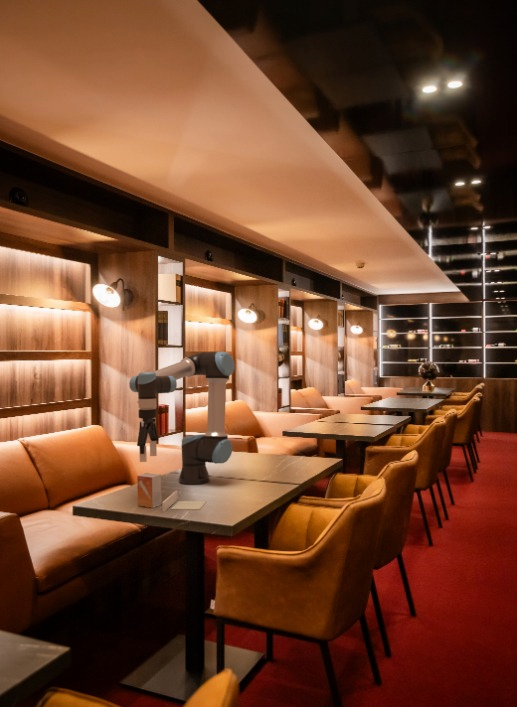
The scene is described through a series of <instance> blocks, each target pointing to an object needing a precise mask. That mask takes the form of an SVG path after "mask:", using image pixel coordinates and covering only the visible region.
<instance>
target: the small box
mask: <svg viewBox="0 0 517 707" xmlns="http://www.w3.org/2000/svg"><path fill="white" fill-rule="evenodd" d="M162 498H163V497H162V474H161V473H150V472H148V473H147V472H145V473H142V474H141V473H140V474H138V475H137V506H138V507H143V506H145V507H144V508H149V507H151V509H154V508H156V506H157V507H160V506H162V505H161V504H162V502H163V501H162ZM159 505H160V506H159ZM153 507H154V508H153Z"/></svg>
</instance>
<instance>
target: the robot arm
mask: <svg viewBox="0 0 517 707" xmlns="http://www.w3.org/2000/svg"><path fill="white" fill-rule="evenodd" d="M235 367H236V366H235V361H234V358H233V357H232V355H231V353H229V352H227V351H222V350H221V351H203V352H198V353H195V354H191V355H189V356H187V357H185V358H182V359H181V360H180V361H179V362H176V363H174V364H173V363H172V364H171V365H168V366H165V367H162V368H159V369H157V370H154V371H147V372H146V371H145V372H143V371H142V372H139V373H138V375H134V376H132V377H131V378H130V380H129V383H128V384H129V385H128V386H129V389H130V390H131V392H133V393H137V395H138V398H137V399H138V400H137V404H138V418H139V419H141V420H142V421H140V422H139V430H138V436H137V443H136V445H137V447H139V448H138V449H139V462H140V463H146V462H147V461H148V460H147V445H146V444H147V439H148V436H149V439H150V440H149V456H150V457H157V456H158V454H157V453H158V452H157V451H158V450H157V449H158V448H157V441H159V435H158V430H157V424H156V418H157V412H158V411H157V409H156V408H157V407H158V405H157V394H158V395H159V394H169V393H173V392H175V391H176V389H177V384H178V383H177V380H180V379H182V378H185V377H186V378H191V377H193V376H205V380H206V381H207V383H208V384H207V385H208V388H207V390H208V392H207V393H208V394H207V418H206V419H207V420H206V423H207V424H206V428H207V429H206V432H205V433H203V434H201V433H200V434H194V435H193V434H192V435H188V436H183V437H182V439H181V445H180V446H181V462H182V463H181V464H182V465H181V469H180V472H179V477H178V483H179V484H182V485H189V486H191V485H192V486H194V485H202V484H206V483H209V482H210V474H209V472H208V468H207V466H206V464H207V463H211V464H212V463H214V464H225V463H227V462H228V460H229V459H230V457H232V454H233V444H232V441H231V440H229V439H228V436H229V435H228V434H227V433H226V403H227V402H226V401H227V400H226V398H227V396H226V395H227V394H226V393H227V392H226V391H227V383H228V381H229V380H230V376H231V375H232V374H234V371H235Z"/></svg>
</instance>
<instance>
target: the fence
mask: <svg viewBox="0 0 517 707" xmlns="http://www.w3.org/2000/svg"><path fill="white" fill-rule="evenodd" d="M178 493H179V492H178V490H174V492H172V493H171V494H170V495H169V496H168V497H167V498H165V499H164V500H163V501H162V505H161V506H162V513H165V512H167V510H169V509H170V508H171V507H172V506H173V505H175V504H176V503H177V502H178V501H179V496H178ZM172 504H173V505H172ZM171 505H172V506H171ZM170 506H171V507H170ZM169 507H170V508H169Z"/></svg>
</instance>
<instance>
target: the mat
mask: <svg viewBox="0 0 517 707" xmlns="http://www.w3.org/2000/svg"><path fill="white" fill-rule="evenodd" d="M206 503H207V501H201V500H199V501H197V500H196V501H195V500H194V501H193V500H192V501H191V500H190V501H189V500H188V501H187V500H181V501H180V500H178V501H177V502H175V503H174V504H173V505H172V506H171V507H170V508H171V509H174V511H177V510H178V511H179V510H180V511H182V510H183V511H185V510H187V511H190V510H191V511H199V510H201V509H202V508H203V507H204V505H205V504H206ZM171 509H170V510H171Z"/></svg>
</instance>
